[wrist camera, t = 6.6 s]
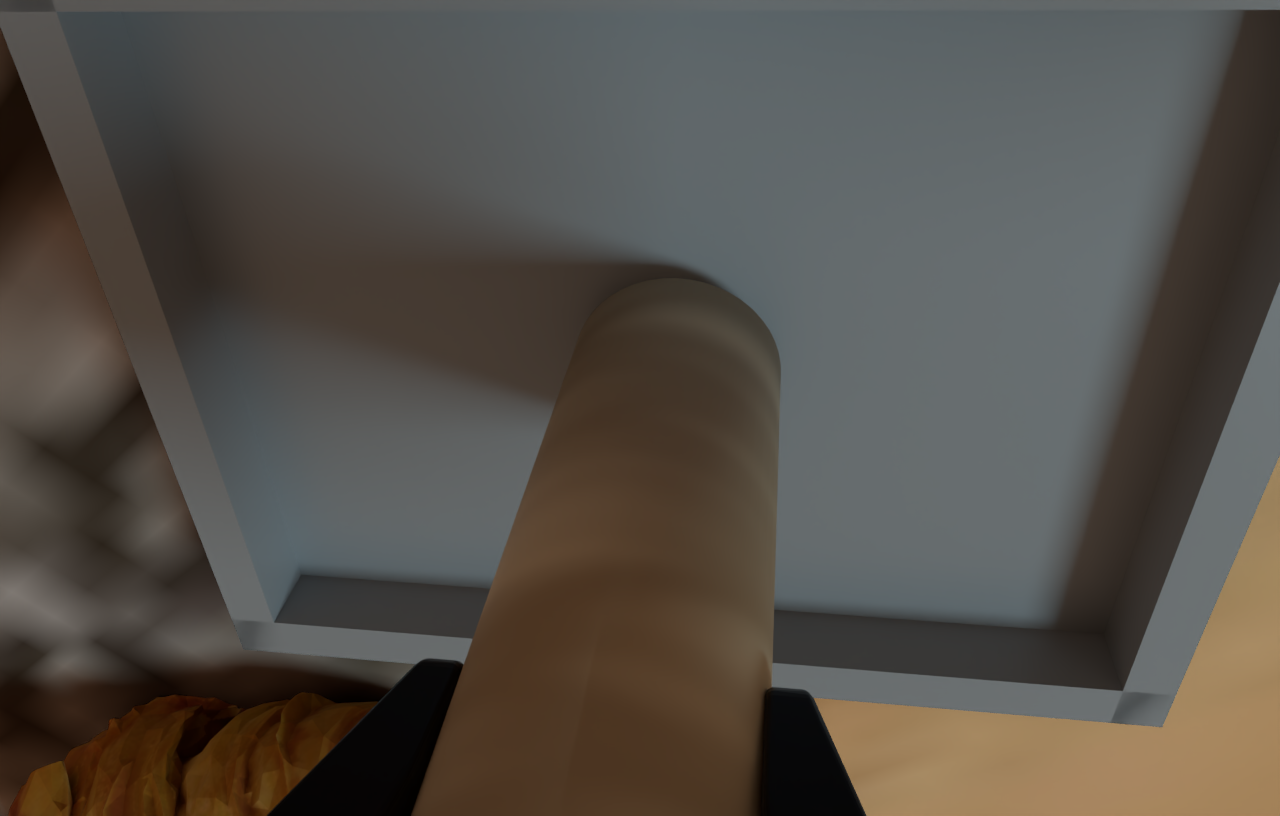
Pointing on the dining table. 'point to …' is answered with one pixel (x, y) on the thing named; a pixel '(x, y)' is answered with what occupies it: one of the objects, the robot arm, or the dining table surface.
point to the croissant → (192, 759)
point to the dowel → (632, 580)
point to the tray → (720, 256)
